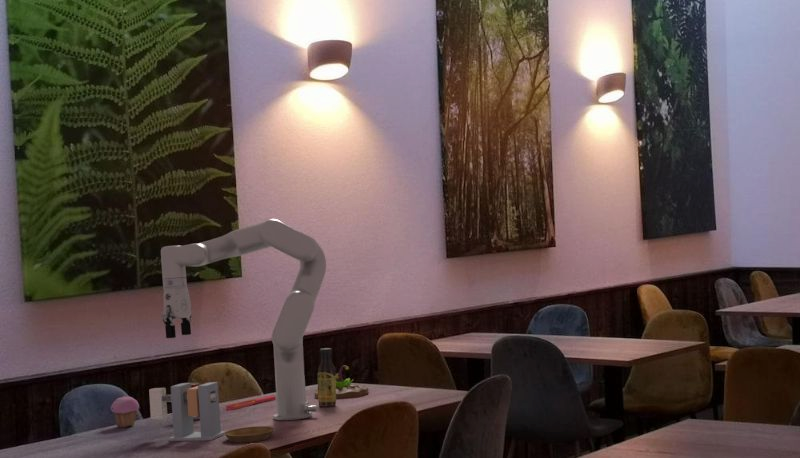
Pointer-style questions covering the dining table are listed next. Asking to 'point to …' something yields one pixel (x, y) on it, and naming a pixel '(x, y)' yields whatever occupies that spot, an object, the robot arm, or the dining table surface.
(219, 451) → the dining table surface
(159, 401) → the shaft
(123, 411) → the cupcake
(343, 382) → the plant
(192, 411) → the orange square holed block
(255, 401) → the red long bar
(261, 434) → the plant saucer
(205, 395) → the bearing stand
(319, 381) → the sauce bottle
